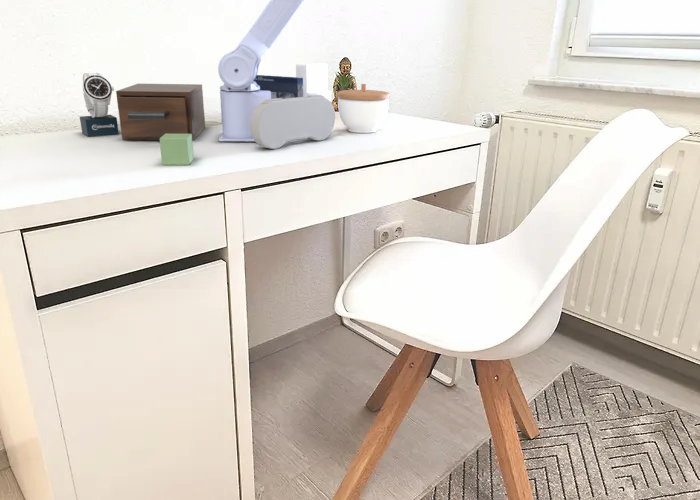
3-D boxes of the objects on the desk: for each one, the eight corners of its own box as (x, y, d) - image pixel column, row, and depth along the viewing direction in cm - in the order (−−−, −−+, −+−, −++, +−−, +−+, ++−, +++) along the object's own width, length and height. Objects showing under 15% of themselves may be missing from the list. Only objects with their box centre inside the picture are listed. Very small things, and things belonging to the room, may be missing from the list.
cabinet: (193, 140, 100) (189, 92, 97) (122, 140, 99) (115, 90, 96) (205, 127, 114) (202, 84, 110) (142, 126, 112) (137, 83, 109)
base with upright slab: (317, 120, 126) (317, 65, 121) (285, 117, 130) (284, 63, 125) (337, 116, 133) (338, 64, 128) (307, 113, 137) (307, 62, 133)
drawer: (183, 141, 94) (179, 101, 92) (114, 141, 93) (109, 100, 90) (199, 125, 111) (197, 90, 108) (141, 124, 110) (137, 89, 107)
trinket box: (328, 132, 112) (329, 84, 108) (348, 124, 121) (349, 80, 118) (378, 136, 108) (380, 87, 105) (394, 129, 117) (396, 83, 114)
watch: (90, 138, 100) (81, 75, 96) (79, 131, 106) (70, 72, 101) (122, 135, 103) (114, 74, 99) (110, 129, 109) (102, 71, 105)
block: (193, 159, 86) (191, 133, 84) (189, 165, 82) (187, 138, 81) (167, 159, 86) (165, 133, 84) (162, 164, 82) (159, 138, 80)
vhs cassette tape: (228, 119, 124) (225, 73, 120) (236, 118, 127) (233, 73, 123) (297, 127, 117) (296, 78, 113) (304, 125, 119) (304, 77, 116)
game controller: (326, 136, 107) (327, 92, 104) (335, 138, 106) (336, 93, 103) (249, 150, 93) (247, 100, 90) (258, 152, 92) (256, 101, 89)
